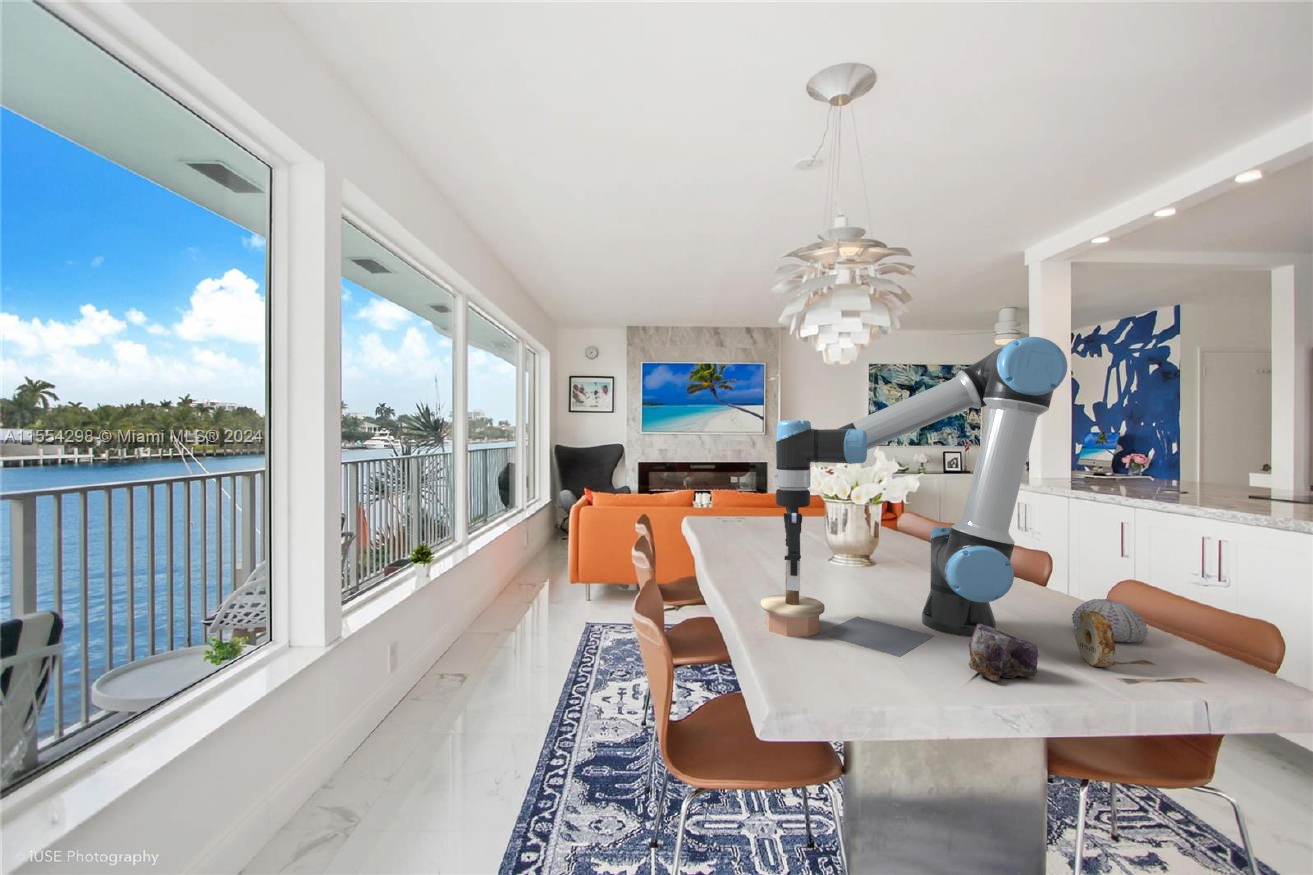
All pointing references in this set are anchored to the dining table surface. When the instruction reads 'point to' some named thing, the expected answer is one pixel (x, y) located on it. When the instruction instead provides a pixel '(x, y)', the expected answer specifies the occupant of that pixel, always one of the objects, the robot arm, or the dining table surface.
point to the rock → (1001, 654)
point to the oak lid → (792, 604)
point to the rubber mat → (877, 636)
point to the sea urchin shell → (1116, 619)
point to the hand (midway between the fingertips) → (792, 582)
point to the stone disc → (1095, 639)
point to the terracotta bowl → (792, 625)
